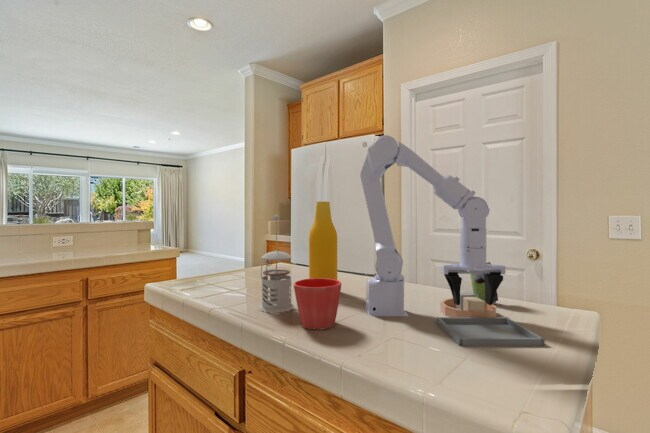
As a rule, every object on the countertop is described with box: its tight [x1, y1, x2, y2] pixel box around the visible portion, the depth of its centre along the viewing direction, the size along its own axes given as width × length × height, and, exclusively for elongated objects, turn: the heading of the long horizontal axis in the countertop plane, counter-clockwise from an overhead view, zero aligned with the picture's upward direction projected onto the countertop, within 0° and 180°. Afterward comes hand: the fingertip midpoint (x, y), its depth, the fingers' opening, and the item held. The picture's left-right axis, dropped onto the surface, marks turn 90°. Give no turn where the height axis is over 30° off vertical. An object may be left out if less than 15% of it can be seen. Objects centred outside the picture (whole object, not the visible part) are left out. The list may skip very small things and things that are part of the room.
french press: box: [258, 214, 295, 314], centre depth 91 cm, size 10×12×25 cm
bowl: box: [439, 297, 497, 317], centre depth 83 cm, size 12×12×3 cm
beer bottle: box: [308, 201, 338, 280], centre depth 108 cm, size 9×9×29 cm
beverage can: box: [469, 260, 499, 305], centre depth 94 cm, size 6×7×12 cm
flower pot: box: [293, 278, 342, 330], centre depth 77 cm, size 11×11×10 cm
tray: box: [436, 316, 546, 347], centre depth 70 cm, size 16×13×2 cm
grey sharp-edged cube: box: [456, 291, 477, 310], centre depth 85 cm, size 4×3×4 cm
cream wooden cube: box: [463, 297, 484, 311], centre depth 80 cm, size 4×3×4 cm
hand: (472, 303), depth 81 cm, fingers open, 7 cm apart
